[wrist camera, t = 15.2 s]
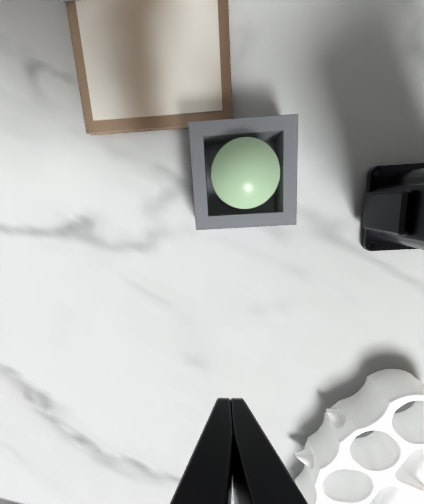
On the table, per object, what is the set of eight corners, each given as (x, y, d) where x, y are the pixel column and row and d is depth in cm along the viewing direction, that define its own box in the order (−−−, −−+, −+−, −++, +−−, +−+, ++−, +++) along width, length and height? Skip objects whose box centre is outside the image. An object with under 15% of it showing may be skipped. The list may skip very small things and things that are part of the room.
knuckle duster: (378, 524, 27) (261, 477, 26) (482, 403, 23) (350, 345, 22) (400, 569, 23) (268, 518, 23) (526, 438, 20) (373, 370, 19)
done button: (270, 145, 18) (280, 134, 15) (270, 205, 18) (280, 206, 16) (210, 149, 18) (208, 139, 15) (214, 209, 19) (213, 210, 16)
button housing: (285, 127, 18) (298, 113, 15) (284, 220, 19) (296, 224, 17) (193, 134, 18) (188, 122, 15) (199, 225, 20) (196, 229, 17)
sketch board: (221, -159, 15) (221, -179, 14) (232, 124, 18) (232, 121, 17) (44, -136, 15) (34, -154, 14) (87, 135, 19) (81, 132, 18)
